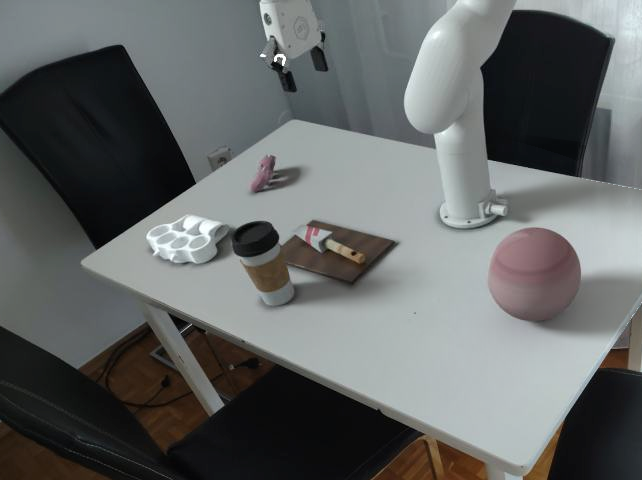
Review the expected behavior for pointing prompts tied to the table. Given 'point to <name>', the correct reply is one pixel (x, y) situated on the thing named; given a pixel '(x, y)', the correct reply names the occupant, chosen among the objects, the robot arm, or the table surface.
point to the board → (331, 261)
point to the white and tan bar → (326, 242)
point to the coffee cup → (263, 261)
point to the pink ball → (534, 274)
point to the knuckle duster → (187, 239)
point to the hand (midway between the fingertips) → (306, 80)
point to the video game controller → (264, 173)
